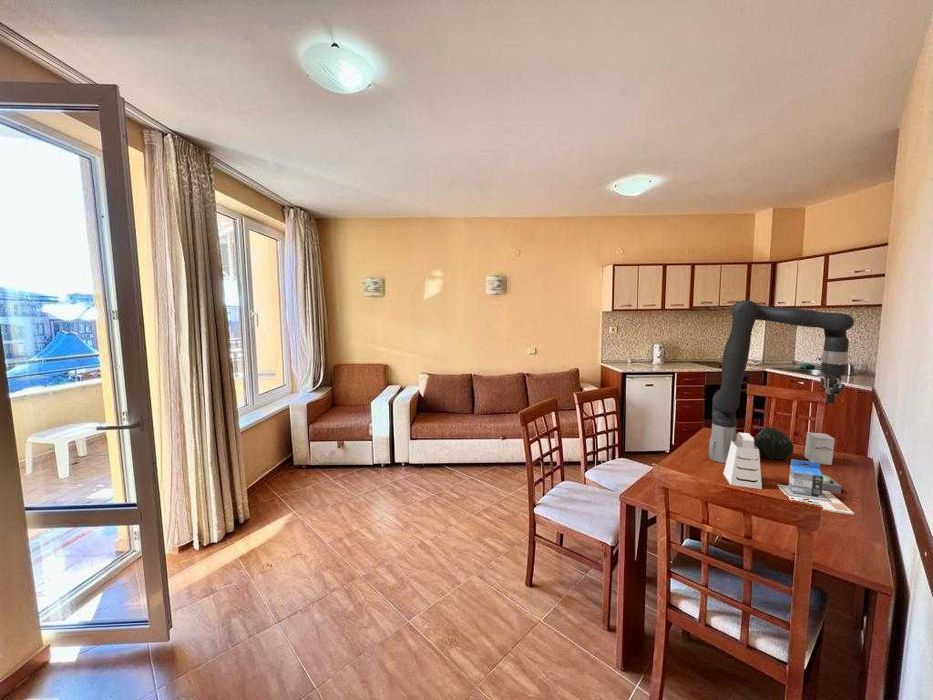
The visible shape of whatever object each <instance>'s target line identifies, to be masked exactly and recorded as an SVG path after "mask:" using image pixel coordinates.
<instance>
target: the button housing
mask: <svg viewBox="0 0 933 700" xmlns="http://www.w3.org/2000/svg"><path fill="white" fill-rule="evenodd" d="M829 477H830V478H831V480H830V483H823V487H822V491H829V492H830V493H835V494H841V493H842V485H841V484H840V483H838V482H837V481H835V479H833V478H832V477H831V476H829Z"/></svg>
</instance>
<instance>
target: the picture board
mask: <svg viewBox="0 0 933 700" xmlns="http://www.w3.org/2000/svg"><path fill="white" fill-rule="evenodd" d="M777 487H778V488H779V489H780V490H781V491H782V493H784V495H785V496H786V495H787V496H788V497H789V498H788V497H787V496H786V497H787V498H788V499H789V500H790V501H791V500H796V501H800V502H805V503H809V504H815V505H821V506H822V507H823V510H822V511H824V510H825V512H832V513H837V514H838V513H839V514H845V515H852V516H854V515H855V512H854V511H852V510H851V509H850V508H848V506H847V505H845V504H844V503H843V502H842V501H841V500H840V499H838V498H837V497H836V496H835V495H833V494H832V492H829V491H822V497H816V496H810V495H803V494H797V493H792V492H791V491H790V490H789V489H788V488H789V485H785V484H784V485H783V484H777ZM791 498H794V499H791ZM803 499H809V500H803ZM808 501H812V502H808ZM826 510H827V511H826Z"/></svg>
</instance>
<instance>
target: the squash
mask: <svg viewBox="0 0 933 700" xmlns="http://www.w3.org/2000/svg"><path fill="white" fill-rule="evenodd" d="M753 438H754V445H755V446H756V447H757V448H758V449H759V456H760V457H763V458H768V459H769V460H775V459H777V460H778V459H779V460H781V459H788V458H790V457H791V456H792V455H793V453H794V444H793V442H792V440H791V439H790V438H789V437H788V436H787V435H786V434H785V433H783V432H781V431H779V430H777V429H775V428H773V427H771V426H765V427H763V428H762V429H761V430H760V431H759V432H758V433H756V435H754V437H753Z"/></svg>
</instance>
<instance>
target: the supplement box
mask: <svg viewBox="0 0 933 700" xmlns="http://www.w3.org/2000/svg"><path fill="white" fill-rule="evenodd" d="M805 439H806V440H805V448H804V449H805V450H804V458H805V459H807V461H808V462H816V463H820V465H828V466H829V465H830V466H831V465H833V457H834V449H835V448H834V447H835V441H836V440H835V438H834V437H832V436H831V435H829V434H827V433H818V432H810V431H807V432H806V438H805Z"/></svg>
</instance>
